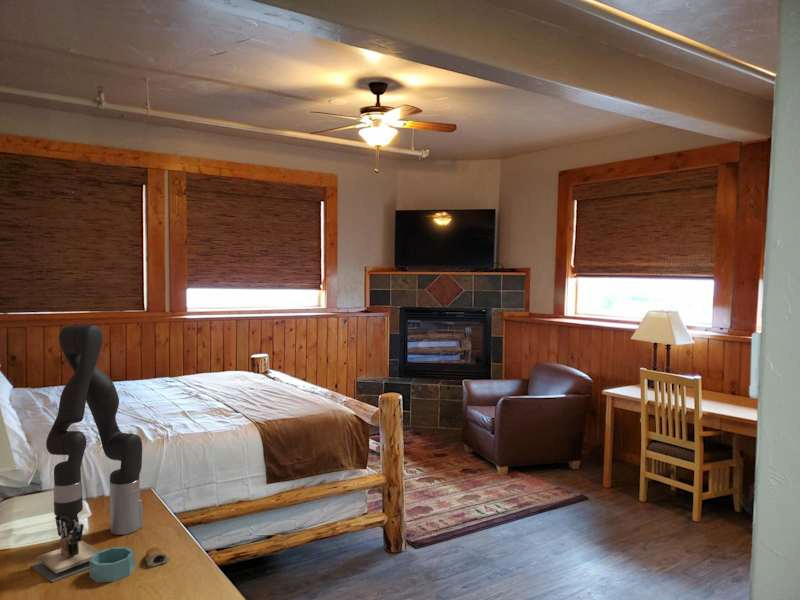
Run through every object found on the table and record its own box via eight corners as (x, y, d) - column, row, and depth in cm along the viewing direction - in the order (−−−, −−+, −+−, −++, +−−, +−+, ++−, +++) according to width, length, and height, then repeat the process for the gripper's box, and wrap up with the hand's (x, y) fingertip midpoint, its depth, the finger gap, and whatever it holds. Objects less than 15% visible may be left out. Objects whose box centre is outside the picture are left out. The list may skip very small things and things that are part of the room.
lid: (82, 543, 187) (82, 525, 186) (102, 555, 179) (101, 536, 178) (37, 559, 176) (36, 540, 176) (56, 573, 168) (55, 552, 168)
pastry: (141, 556, 183) (141, 544, 183) (164, 551, 187) (164, 539, 187) (147, 569, 175) (147, 556, 175) (171, 563, 179) (171, 550, 179)
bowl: (121, 559, 181) (121, 543, 180) (140, 570, 174) (140, 554, 174) (84, 573, 172) (84, 557, 172) (102, 586, 165) (102, 568, 165)
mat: (83, 548, 188) (83, 547, 188) (105, 562, 179) (105, 561, 179) (31, 566, 176) (31, 565, 176) (52, 582, 167) (52, 581, 167)
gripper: (92, 498, 175) (93, 554, 176) (70, 487, 184) (72, 541, 185) (65, 506, 169) (67, 564, 170) (44, 495, 178) (46, 550, 179)
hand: (69, 552), depth 177 cm, fingers closed on lid, 3 cm apart
